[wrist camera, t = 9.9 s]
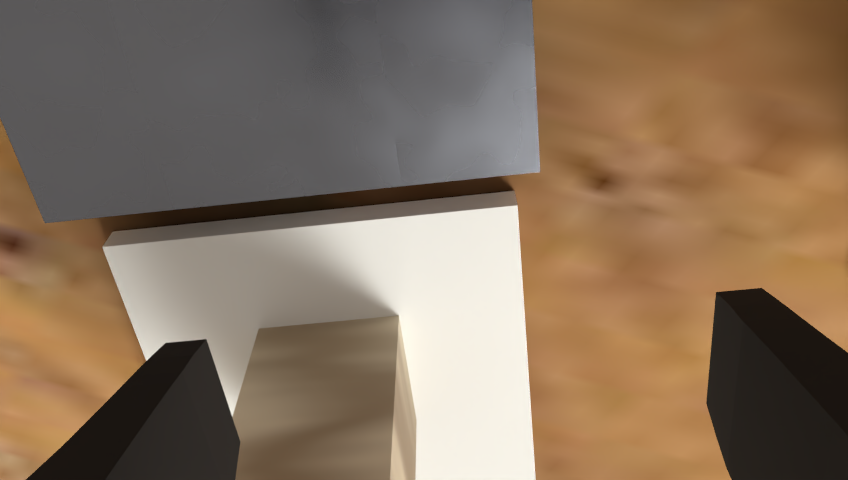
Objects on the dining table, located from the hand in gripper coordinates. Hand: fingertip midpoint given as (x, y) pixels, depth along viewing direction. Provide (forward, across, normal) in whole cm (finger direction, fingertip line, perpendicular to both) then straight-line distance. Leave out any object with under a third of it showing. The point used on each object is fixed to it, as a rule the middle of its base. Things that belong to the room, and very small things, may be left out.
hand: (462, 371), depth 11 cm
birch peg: (+9, +4, +8) cm, 13 cm away
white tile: (+10, +4, +8) cm, 13 cm away
